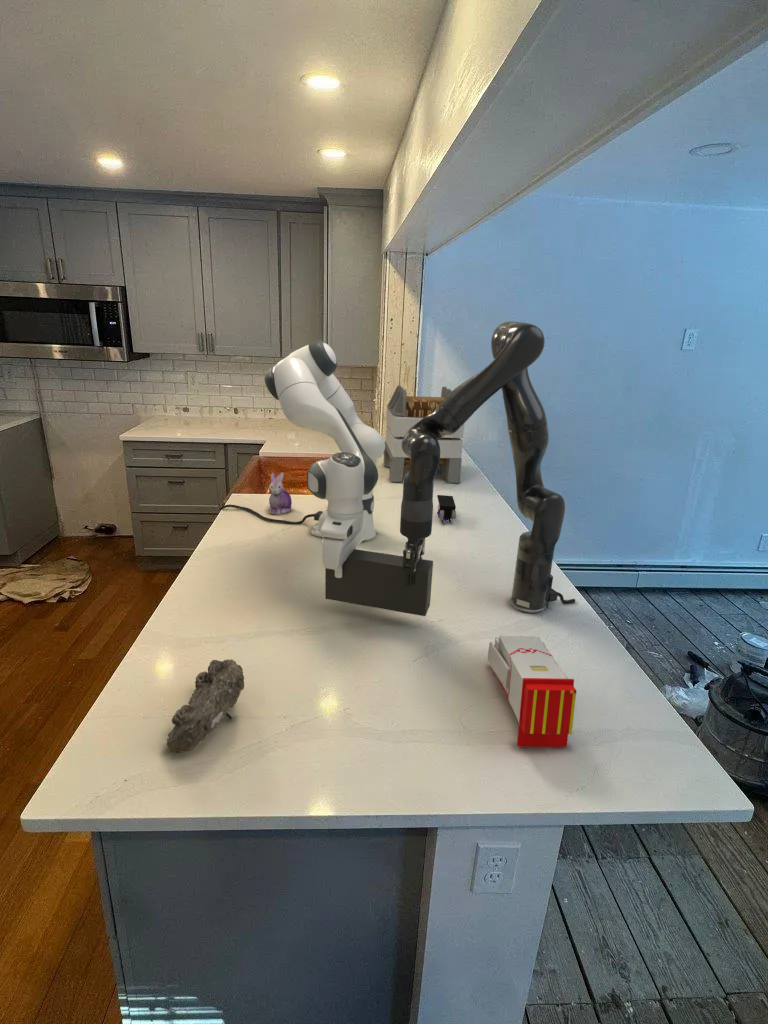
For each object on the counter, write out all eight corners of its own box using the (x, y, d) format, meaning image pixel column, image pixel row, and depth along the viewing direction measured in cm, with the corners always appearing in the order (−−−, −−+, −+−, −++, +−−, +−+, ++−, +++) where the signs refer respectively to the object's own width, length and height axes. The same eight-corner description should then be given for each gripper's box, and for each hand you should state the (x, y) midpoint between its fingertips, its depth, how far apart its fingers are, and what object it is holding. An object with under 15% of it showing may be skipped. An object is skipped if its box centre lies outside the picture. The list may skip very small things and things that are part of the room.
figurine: (272, 516, 210) (271, 477, 205) (264, 508, 219) (263, 470, 213) (296, 513, 214) (296, 475, 209) (287, 505, 223) (287, 468, 218)
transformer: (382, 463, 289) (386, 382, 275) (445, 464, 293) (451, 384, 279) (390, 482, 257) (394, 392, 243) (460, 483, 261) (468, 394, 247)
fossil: (192, 660, 117) (244, 628, 112) (224, 691, 120) (276, 661, 115) (142, 746, 98) (202, 712, 93) (182, 779, 101) (242, 748, 96)
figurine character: (456, 529, 210) (451, 511, 223) (458, 510, 207) (453, 493, 220) (438, 528, 210) (434, 510, 223) (440, 510, 206) (436, 493, 220)
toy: (536, 619, 129) (586, 686, 99) (531, 673, 131) (578, 754, 102) (483, 618, 128) (517, 685, 99) (479, 672, 131) (511, 753, 102)
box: (325, 598, 144) (325, 554, 140) (333, 588, 150) (333, 545, 146) (425, 616, 138) (428, 570, 134) (430, 605, 143) (433, 560, 139)
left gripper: (347, 505, 149) (346, 553, 154) (317, 532, 131) (317, 586, 135) (369, 508, 148) (368, 556, 152) (343, 536, 129) (342, 590, 134)
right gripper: (425, 527, 126) (421, 595, 132) (438, 507, 139) (433, 569, 145) (393, 523, 128) (390, 589, 133) (408, 503, 141) (405, 565, 147)
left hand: (344, 570), depth 144 cm, fingers closed on box, 6 cm apart
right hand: (412, 579), depth 139 cm, fingers closed on box, 6 cm apart
